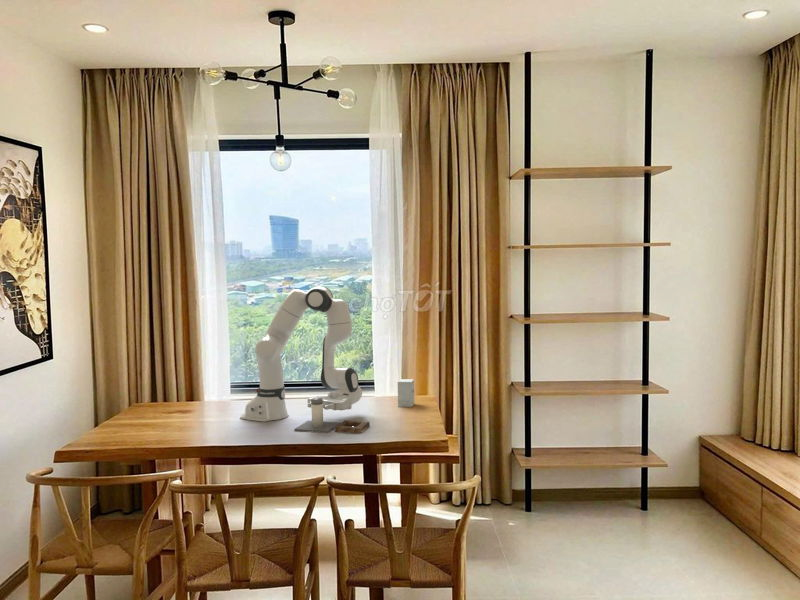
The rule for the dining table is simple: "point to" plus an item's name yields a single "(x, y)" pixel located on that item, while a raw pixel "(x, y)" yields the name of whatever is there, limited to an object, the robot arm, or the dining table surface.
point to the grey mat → (325, 428)
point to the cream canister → (317, 412)
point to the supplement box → (405, 392)
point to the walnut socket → (347, 426)
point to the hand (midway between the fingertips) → (317, 406)
